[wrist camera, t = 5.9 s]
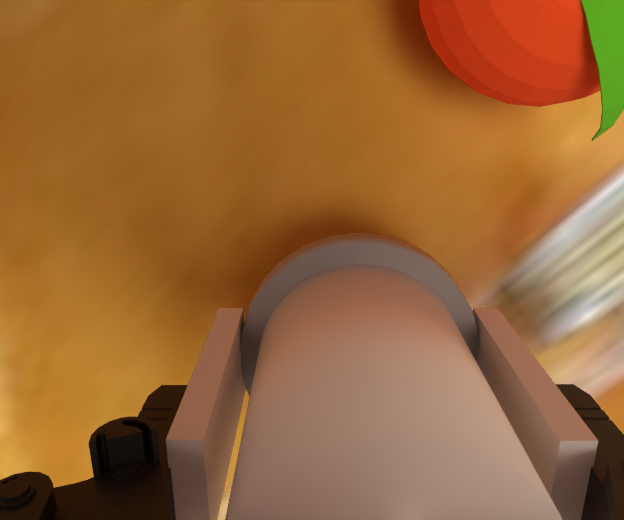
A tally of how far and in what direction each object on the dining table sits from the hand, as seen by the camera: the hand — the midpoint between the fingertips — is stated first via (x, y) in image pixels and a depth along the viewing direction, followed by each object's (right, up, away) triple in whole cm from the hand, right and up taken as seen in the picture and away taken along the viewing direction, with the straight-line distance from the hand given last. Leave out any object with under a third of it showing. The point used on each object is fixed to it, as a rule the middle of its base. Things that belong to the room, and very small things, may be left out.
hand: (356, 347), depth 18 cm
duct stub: (0, 0, 0) cm, 0 cm away
